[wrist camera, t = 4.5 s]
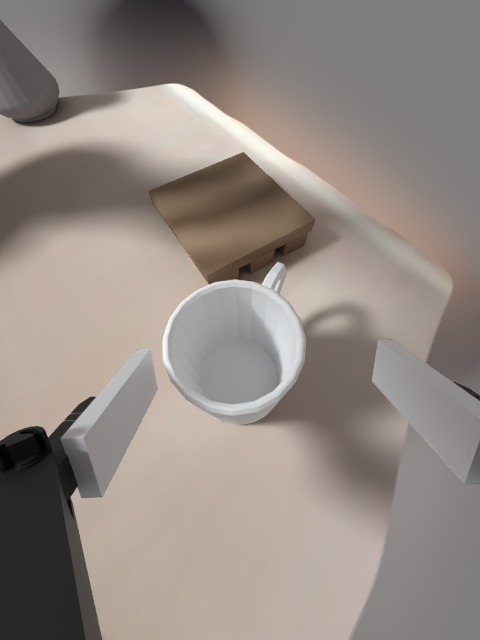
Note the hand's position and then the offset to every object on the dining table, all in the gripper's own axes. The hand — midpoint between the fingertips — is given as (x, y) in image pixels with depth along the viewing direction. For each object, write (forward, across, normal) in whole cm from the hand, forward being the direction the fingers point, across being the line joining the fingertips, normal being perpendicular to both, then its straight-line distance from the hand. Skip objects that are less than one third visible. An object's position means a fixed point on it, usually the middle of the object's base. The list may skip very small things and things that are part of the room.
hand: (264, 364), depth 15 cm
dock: (+20, -2, +8) cm, 21 cm away
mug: (+8, -1, -4) cm, 9 cm away
